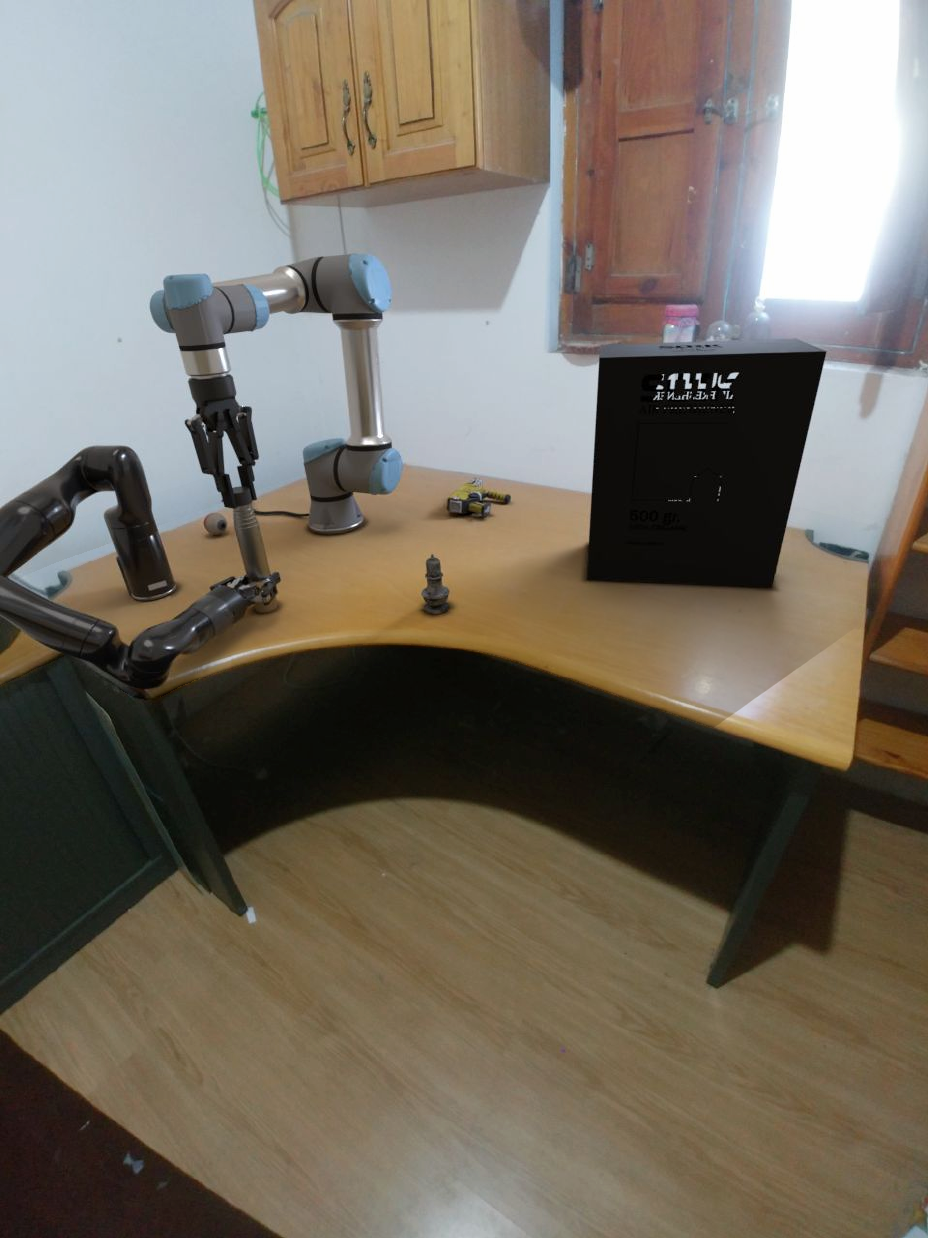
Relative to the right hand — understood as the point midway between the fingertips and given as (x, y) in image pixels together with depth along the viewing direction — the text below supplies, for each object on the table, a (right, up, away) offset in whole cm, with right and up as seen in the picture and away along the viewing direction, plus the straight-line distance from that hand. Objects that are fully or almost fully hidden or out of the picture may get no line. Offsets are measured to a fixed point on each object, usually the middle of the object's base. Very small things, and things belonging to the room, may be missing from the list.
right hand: (241, 502), depth 117 cm
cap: (0, 0, 0) cm, 0 cm away
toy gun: (+49, +11, +61) cm, 79 cm away
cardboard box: (+91, -10, +20) cm, 93 cm away
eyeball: (-25, +1, +51) cm, 57 cm away
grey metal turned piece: (+38, -20, +8) cm, 44 cm away
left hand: (+2, -13, +11) cm, 17 cm away
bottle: (+1, -20, +12) cm, 23 cm away
